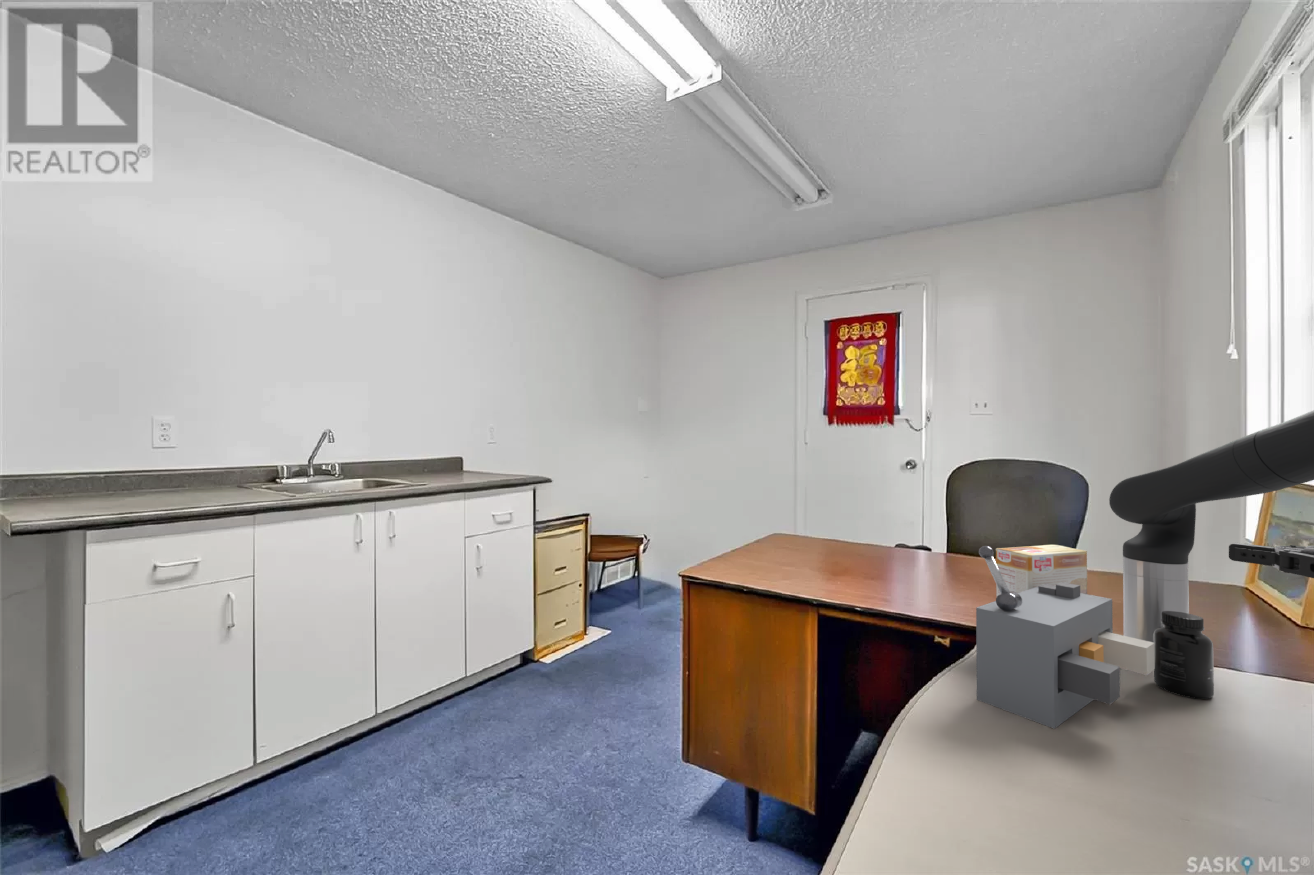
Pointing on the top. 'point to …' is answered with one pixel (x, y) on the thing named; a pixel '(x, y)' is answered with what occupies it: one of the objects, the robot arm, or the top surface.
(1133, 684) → the top surface
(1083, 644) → the orange button
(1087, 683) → the black button
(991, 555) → the toggle lever
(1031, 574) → the coffeecake box
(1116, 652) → the cream button
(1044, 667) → the grey dispenser housing
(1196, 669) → the supplement bottle
